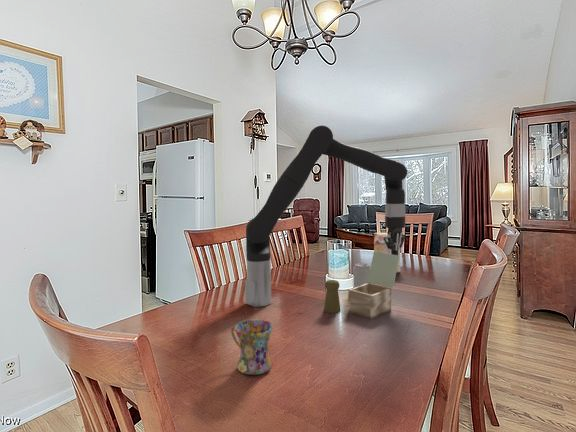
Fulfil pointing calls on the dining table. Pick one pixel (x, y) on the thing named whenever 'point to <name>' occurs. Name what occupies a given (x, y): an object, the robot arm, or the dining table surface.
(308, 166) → the robot arm
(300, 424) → the dining table surface
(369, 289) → the box
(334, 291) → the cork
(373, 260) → the lid
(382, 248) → the coffeecake box
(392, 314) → the dining table surface
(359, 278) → the can
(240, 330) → the mug
